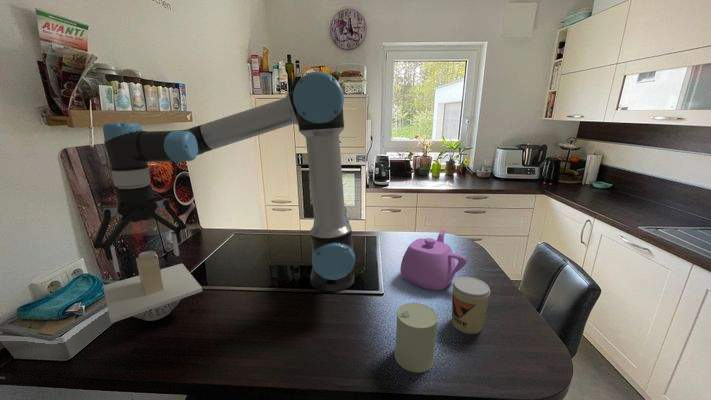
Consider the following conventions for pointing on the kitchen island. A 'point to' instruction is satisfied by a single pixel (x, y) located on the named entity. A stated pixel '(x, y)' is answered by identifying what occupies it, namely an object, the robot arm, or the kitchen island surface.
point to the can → (415, 337)
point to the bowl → (157, 312)
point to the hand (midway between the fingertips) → (148, 261)
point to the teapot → (430, 263)
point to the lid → (148, 288)
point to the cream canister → (469, 304)
